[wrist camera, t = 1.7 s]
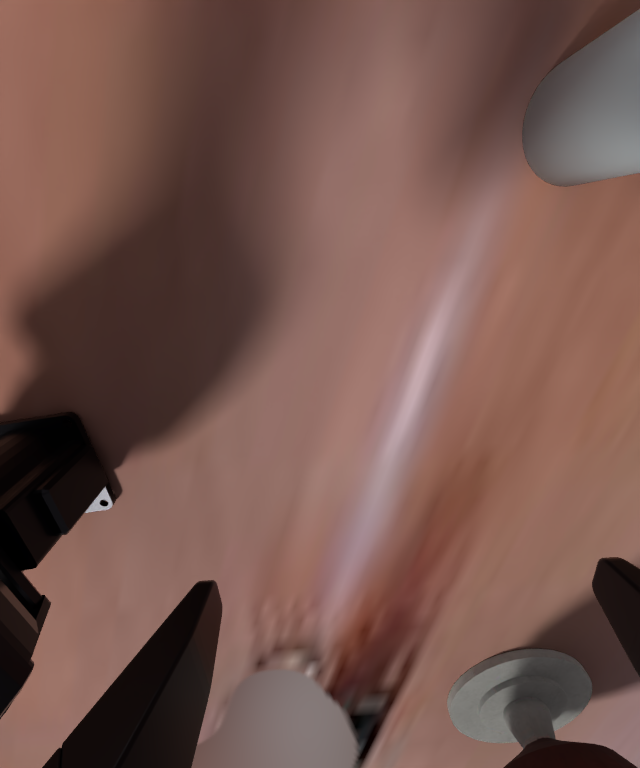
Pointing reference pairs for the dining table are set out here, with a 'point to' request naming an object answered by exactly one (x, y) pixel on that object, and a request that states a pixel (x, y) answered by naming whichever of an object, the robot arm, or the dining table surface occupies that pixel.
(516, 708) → the mate gourd
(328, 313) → the dining table surface
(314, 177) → the dining table surface
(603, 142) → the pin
